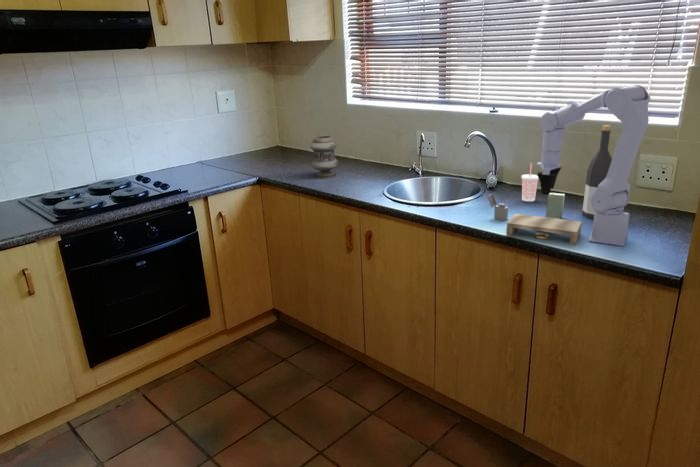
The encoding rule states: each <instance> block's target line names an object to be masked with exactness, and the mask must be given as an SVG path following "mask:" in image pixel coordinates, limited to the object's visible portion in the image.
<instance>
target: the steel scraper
mask: <svg viewBox="0 0 700 467" xmlns="http://www.w3.org/2000/svg"><path fill="white" fill-rule="evenodd" d="M565 195H566V194H565V193H557V192H550V193H549V195H547V202H546V209H545V217H548V218H556V219H562V218H563V214H564V204H565V197H566V196H565Z"/></svg>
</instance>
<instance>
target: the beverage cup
mask: <svg viewBox="0 0 700 467" xmlns="http://www.w3.org/2000/svg"><path fill="white" fill-rule="evenodd" d="M529 166H530V167H529V174H527V173H525V174H522V175H521V200H522V201H524V202H530V203H531V202H534V201H536V194H537V189H538V188H537V187H538V181H539V178H538V175H537V174H533V173H532V169H533V162H530V165H529Z"/></svg>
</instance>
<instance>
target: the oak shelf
mask: <svg viewBox="0 0 700 467" xmlns="http://www.w3.org/2000/svg"><path fill="white" fill-rule="evenodd" d="M517 229H522V230H529V231H530V230H531V231H536V232H543V233H552V234H560V235H566V236H567V235H568V236H570V237H569V245H575V246H576V244H577V242H578V240H579V238H580V235H581V232H582V231H581V229H582V221H579V220H574V219H573V220H572V219H571V220H570V219H564V218H563V219H556V218H548V217H546V216H540V215H530V214H522V213H521V214H520V213H514V214H513V215H512V216H511V218H510V219H509V220H508V221H507V222H506V231H505V232H506V234H505V235H506V236H508V237H511V236H513V234H514V233H515V232H516V231H517Z"/></svg>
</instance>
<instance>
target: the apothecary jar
mask: <svg viewBox="0 0 700 467" xmlns="http://www.w3.org/2000/svg"><path fill="white" fill-rule="evenodd" d="M336 147H337V142H336V141H335V140H334V139H333V136H332V135H327V134H325V135H324V134H322V135H317V136H313V141H312V142H311V144H310V148H311V150H312V151H313V160H312V161H311V166H312V167H313V169H314V170H317V171H318V172H317V173H315V174H314V177H315V178H318V179H319V178H320V179H330V178H334V177H336V176H337V173H336V172H333V171H332V170H333V169H335V168H337V167H338V165H339V161H338V160H337V158H336V155H335V149H336Z"/></svg>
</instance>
